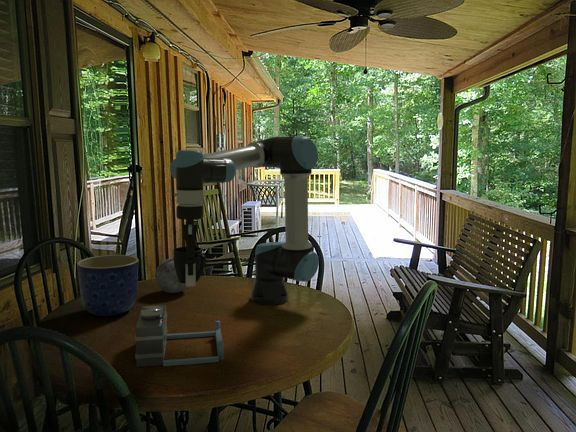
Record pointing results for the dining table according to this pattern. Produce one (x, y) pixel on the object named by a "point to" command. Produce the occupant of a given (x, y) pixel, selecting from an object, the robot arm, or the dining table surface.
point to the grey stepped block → (151, 336)
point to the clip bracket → (204, 359)
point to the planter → (108, 283)
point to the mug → (180, 269)
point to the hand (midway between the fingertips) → (190, 281)
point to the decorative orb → (168, 277)
